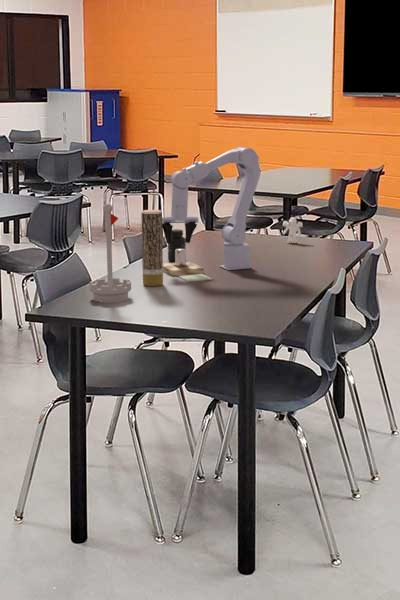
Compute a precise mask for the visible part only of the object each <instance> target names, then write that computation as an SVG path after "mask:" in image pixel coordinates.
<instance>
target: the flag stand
mask: <svg viewBox="0 0 400 600" xmlns="http://www.w3.org/2000/svg"><path fill="white" fill-rule="evenodd" d="M102 210H103V212H104V213H105V234H106V235H105V236H106V239H105V241H106V263H107V264H106V265H107V267H106V268H107V271H106V272H107V281H106V279H105V278H102V277H101V278H97V279H96V280H91V281H90V282H89V291H90V292H91V293H92V300H93V299H94V300H93V301H95V300H96V301H95V302H97V301H102V302H101V303H119V302H124V301H126V300H129V292H130V291H131V290H132V282H131V280H130V279H127V278H124V279H123V280H122V281H120V278H119V277H113V252H112V250H113V249H112V226H113V225H114V224H115V222H116V221H118V220H119V217H118V216H116V215H114V214H113V213H112V212H113V205H112V204H110V203H106V204H104V206H103V208H102Z"/></svg>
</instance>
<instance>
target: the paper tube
mask: <svg viewBox="0 0 400 600" xmlns="http://www.w3.org/2000/svg"><path fill="white" fill-rule="evenodd" d="M162 218H163V211H162V210H161V209H144V210H143V209H142V210H141V218H140V219H141V251H142V252H141V253H142V254H141V255H142V256H141V258H142V260H141V261H142V285H143V286H145V287H160V286H162V285H163V283H164V272H163V264H164V261H163V260H164V259H163V255H164V254H163V251H164V249H163V228H162Z"/></svg>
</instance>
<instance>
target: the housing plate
mask: <svg viewBox="0 0 400 600" xmlns="http://www.w3.org/2000/svg"><path fill="white" fill-rule="evenodd" d="M204 270H205V269H204V267H202V266H200V265H199V264H195V263H193V262H192V261H186V267H178V268H177V267H175V262H165V263H163V273H165V274H166V275H169V276H171V277H176V276H178V277H179V276H185V275H196V274H203V275H204Z"/></svg>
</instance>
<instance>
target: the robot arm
mask: <svg viewBox="0 0 400 600" xmlns="http://www.w3.org/2000/svg"><path fill="white" fill-rule="evenodd" d="M259 159H260V157H259V155H258V153H257V152H256V151H255V149H253V148H251V147H244V146H238V147H236V148H233V149H230V150H228V151H225V152H224V153H222V154H220V155H218V156H216V157H215V158H212V159H210V160H209V161H207V162H203V161H194V162H193V164H192V165H190V166H187V167H183V168H181V169H182V170H181V171H180V170H178V171H175V172H173V173H172V175H171V178H170V180H169V181H170V183H171V185H172V188H171V189H172V191H171V212H170V213H171V215H170V216H165V217H163V216H162V232H163V233H164V237H165V241H166V244H167V245H168V244H171V232H172V230H173V226H174V225H172V224H184V229H185V237H184V238H185V242H186V244H190V243H191V239H192V236H193V234H194V231H195V230H196V228H197V225H198V224H197V223H199V217H197V216H188V207H189V206H188V205H189V204H188V203H189V201H188V200H189V187H190V186H191V184H194V183H196V182H197V181H200V180H202V179H204V178H207V177H208V175H209V173H210V172H211V171H213V170H215V169H218V168H220V167H223V166H225V165H228V164H236V165H237V166H239V167H240V169H241V171H242V172H243V174H244V178H243V181H242V184H241V187H240V190H239V192H238V196H237V199H236V202H235V206H234V209H233V211H232V214H231V216H230V218H229V219H228V220H227V221H226V224H225V225H224V226H223V228H222V230H221V237H222V238H223V239H224V242H223V264H221V265H219V267H220V268H222V269H224V270H226V271H234V270H235V271H236V270H244V269H251V268H252V266H251V247H250V245H249V244H248V243H246V242H244V241H245V239H246V229H247V223H246V219H247V218H248V217H247V216H248V213H249V210H250V207H251V204H252V201H253V197H254V195H255V192H256V189H257V186H258V183H259V180H260V176H261V170H260V169H261V168H260V163H259V161H260V160H259Z"/></svg>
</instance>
